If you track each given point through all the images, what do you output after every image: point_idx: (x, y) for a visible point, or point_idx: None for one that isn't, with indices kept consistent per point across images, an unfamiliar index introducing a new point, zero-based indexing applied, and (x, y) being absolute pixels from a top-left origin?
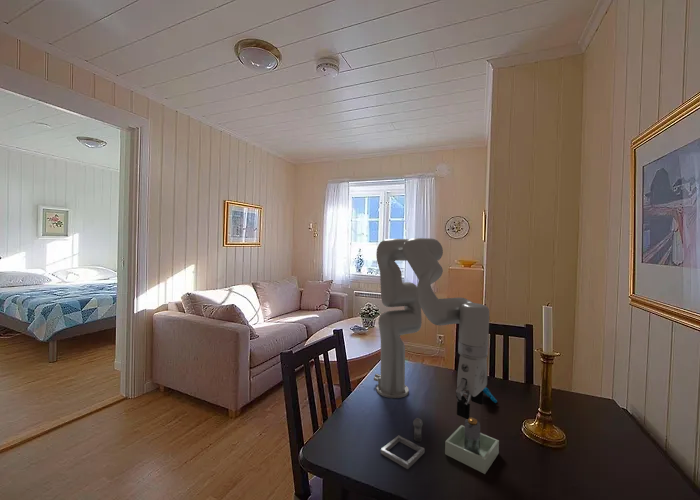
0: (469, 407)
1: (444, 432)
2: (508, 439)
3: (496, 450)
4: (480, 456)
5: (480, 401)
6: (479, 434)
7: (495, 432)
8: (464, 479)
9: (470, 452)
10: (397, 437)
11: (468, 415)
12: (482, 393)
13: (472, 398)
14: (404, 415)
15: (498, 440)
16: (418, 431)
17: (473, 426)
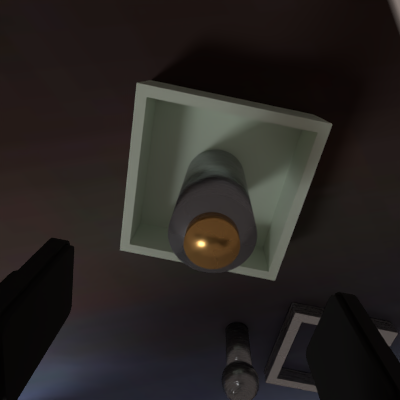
0: (397, 371)
1: (144, 275)
2: (16, 49)
3: (177, 88)
4: (315, 146)
5: (63, 265)
6: (223, 178)
7: (6, 110)
8: (372, 175)
9: (305, 187)
10: (278, 381)
11: (364, 314)
12: (6, 309)
13: (60, 320)
14: (132, 385)
15: (138, 84)
16: (250, 357)
17: (250, 226)
